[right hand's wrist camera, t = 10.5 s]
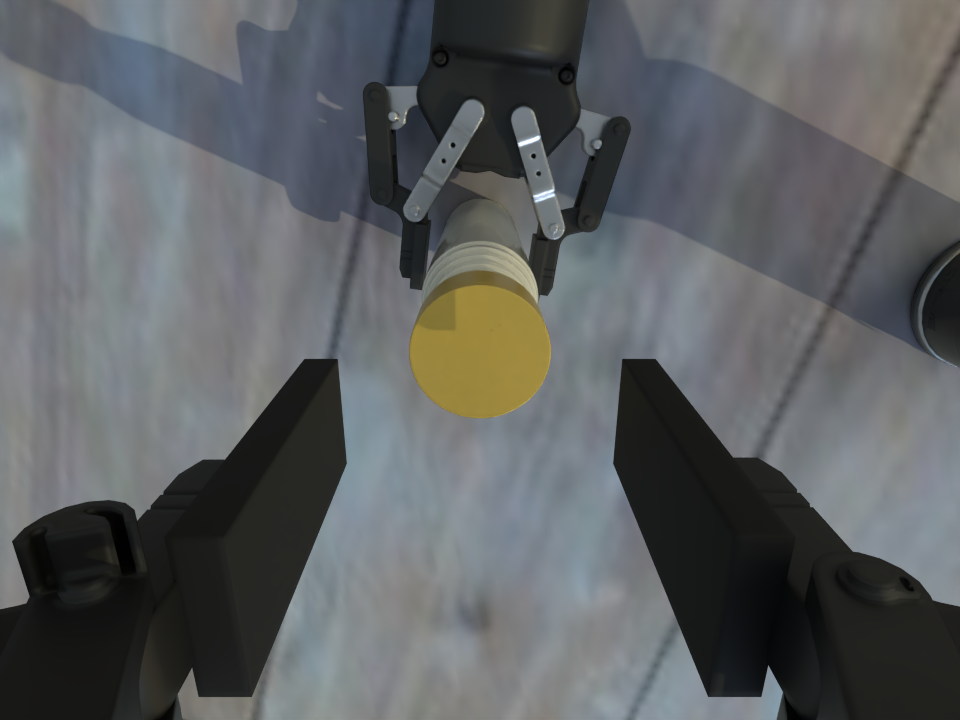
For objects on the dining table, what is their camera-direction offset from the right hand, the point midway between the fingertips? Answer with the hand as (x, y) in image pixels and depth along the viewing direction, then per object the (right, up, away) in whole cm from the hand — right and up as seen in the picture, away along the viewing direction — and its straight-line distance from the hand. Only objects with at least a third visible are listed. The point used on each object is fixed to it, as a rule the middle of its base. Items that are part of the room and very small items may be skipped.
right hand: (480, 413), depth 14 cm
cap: (0, +2, +4) cm, 4 cm away
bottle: (0, +10, +26) cm, 27 cm away
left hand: (0, +5, +21) cm, 21 cm away
